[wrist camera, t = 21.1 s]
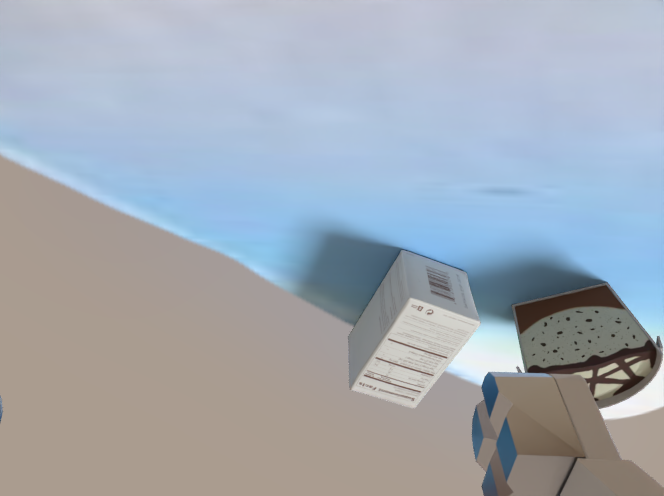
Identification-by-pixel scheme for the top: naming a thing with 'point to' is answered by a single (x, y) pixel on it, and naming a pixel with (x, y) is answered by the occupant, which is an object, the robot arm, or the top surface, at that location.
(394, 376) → the supplement box
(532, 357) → the food container
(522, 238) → the top surface
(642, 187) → the top surface
